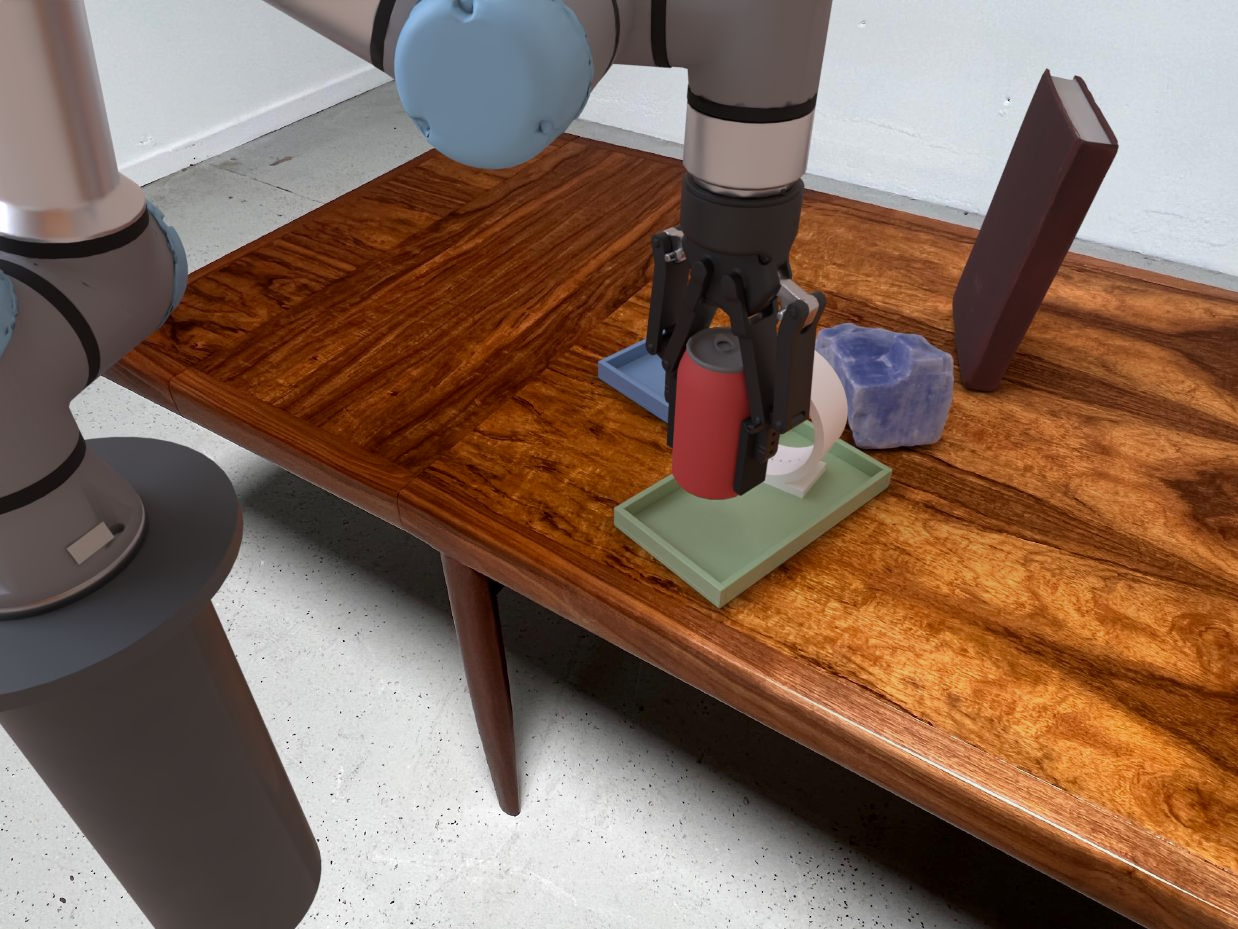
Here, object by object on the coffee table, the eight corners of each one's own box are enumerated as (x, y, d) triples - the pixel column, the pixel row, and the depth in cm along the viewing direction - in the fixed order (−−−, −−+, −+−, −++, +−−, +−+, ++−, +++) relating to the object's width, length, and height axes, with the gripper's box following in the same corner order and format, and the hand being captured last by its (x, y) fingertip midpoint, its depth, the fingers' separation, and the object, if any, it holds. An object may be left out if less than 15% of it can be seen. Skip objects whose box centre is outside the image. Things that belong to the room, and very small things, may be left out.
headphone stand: (774, 450, 83) (790, 336, 75) (836, 474, 80) (859, 359, 72) (750, 477, 80) (763, 362, 72) (813, 503, 77) (834, 386, 69)
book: (1125, 148, 72) (1070, 138, 72) (999, 396, 90) (955, 387, 90) (1090, 73, 84) (1043, 65, 84) (985, 305, 102) (946, 297, 102)
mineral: (981, 354, 79) (878, 366, 76) (956, 448, 84) (859, 461, 81) (895, 293, 90) (803, 301, 88) (878, 378, 96) (791, 388, 93)
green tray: (719, 609, 69) (721, 591, 67) (613, 525, 76) (613, 507, 74) (888, 486, 79) (893, 469, 78) (782, 423, 86) (784, 406, 85)
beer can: (742, 446, 74) (758, 318, 66) (765, 499, 69) (786, 368, 61) (663, 454, 73) (670, 325, 66) (681, 509, 68) (691, 377, 61)
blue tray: (674, 428, 86) (674, 411, 85) (598, 377, 92) (597, 361, 91) (754, 383, 92) (756, 366, 90) (677, 338, 98) (678, 322, 97)
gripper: (914, 208, 52) (845, 505, 67) (677, 116, 63) (663, 388, 78) (831, 247, 48) (777, 553, 63) (594, 141, 59) (596, 422, 74)
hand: (714, 461), depth 70 cm, fingers closed on beer can, 6 cm apart
